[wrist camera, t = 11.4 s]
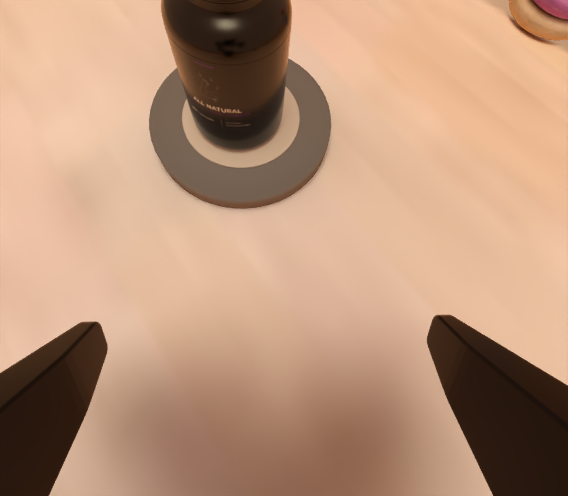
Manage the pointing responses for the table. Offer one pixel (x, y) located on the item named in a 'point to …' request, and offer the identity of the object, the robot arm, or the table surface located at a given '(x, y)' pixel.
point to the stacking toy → (542, 17)
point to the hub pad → (250, 162)
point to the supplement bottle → (231, 65)
